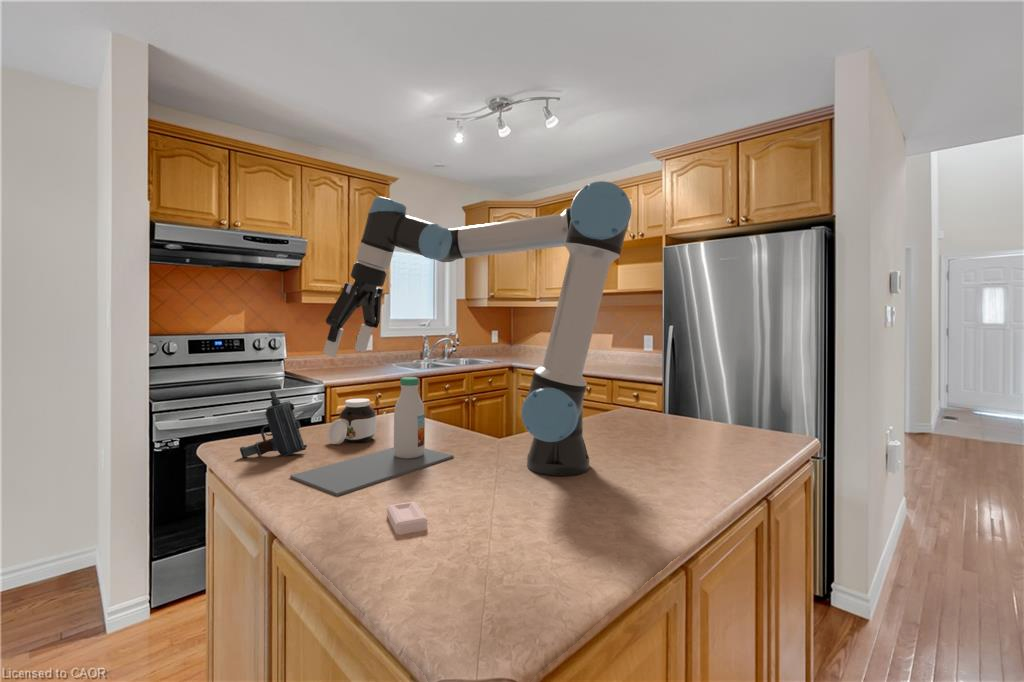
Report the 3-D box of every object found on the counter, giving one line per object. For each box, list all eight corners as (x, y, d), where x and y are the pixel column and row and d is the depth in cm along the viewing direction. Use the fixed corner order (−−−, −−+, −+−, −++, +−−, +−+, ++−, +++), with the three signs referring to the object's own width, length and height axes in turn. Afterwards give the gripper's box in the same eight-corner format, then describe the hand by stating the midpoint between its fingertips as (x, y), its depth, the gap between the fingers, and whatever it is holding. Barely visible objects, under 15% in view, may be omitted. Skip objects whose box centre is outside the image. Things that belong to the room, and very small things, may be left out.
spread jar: (379, 437, 148) (379, 398, 148) (362, 447, 137) (361, 405, 137) (342, 435, 151) (342, 397, 150) (322, 445, 139) (321, 404, 139)
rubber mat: (406, 445, 139) (406, 443, 139) (453, 457, 128) (453, 455, 128) (290, 477, 112) (290, 475, 112) (337, 496, 101) (337, 493, 101)
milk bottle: (409, 461, 123) (410, 381, 122) (387, 456, 127) (387, 378, 126) (430, 454, 129) (431, 377, 128) (408, 449, 134) (409, 374, 132)
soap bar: (415, 512, 94) (415, 499, 94) (428, 531, 86) (428, 518, 86) (386, 517, 92) (386, 504, 92) (396, 537, 84) (396, 523, 84)
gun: (227, 403, 127) (288, 386, 130) (248, 465, 129) (307, 446, 132) (224, 405, 124) (287, 388, 128) (245, 468, 126) (306, 449, 130)
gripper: (381, 265, 127) (358, 344, 129) (326, 254, 102) (298, 351, 105) (408, 275, 126) (383, 354, 128) (358, 265, 101) (329, 363, 104)
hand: (345, 353), depth 116 cm, fingers open, 13 cm apart
